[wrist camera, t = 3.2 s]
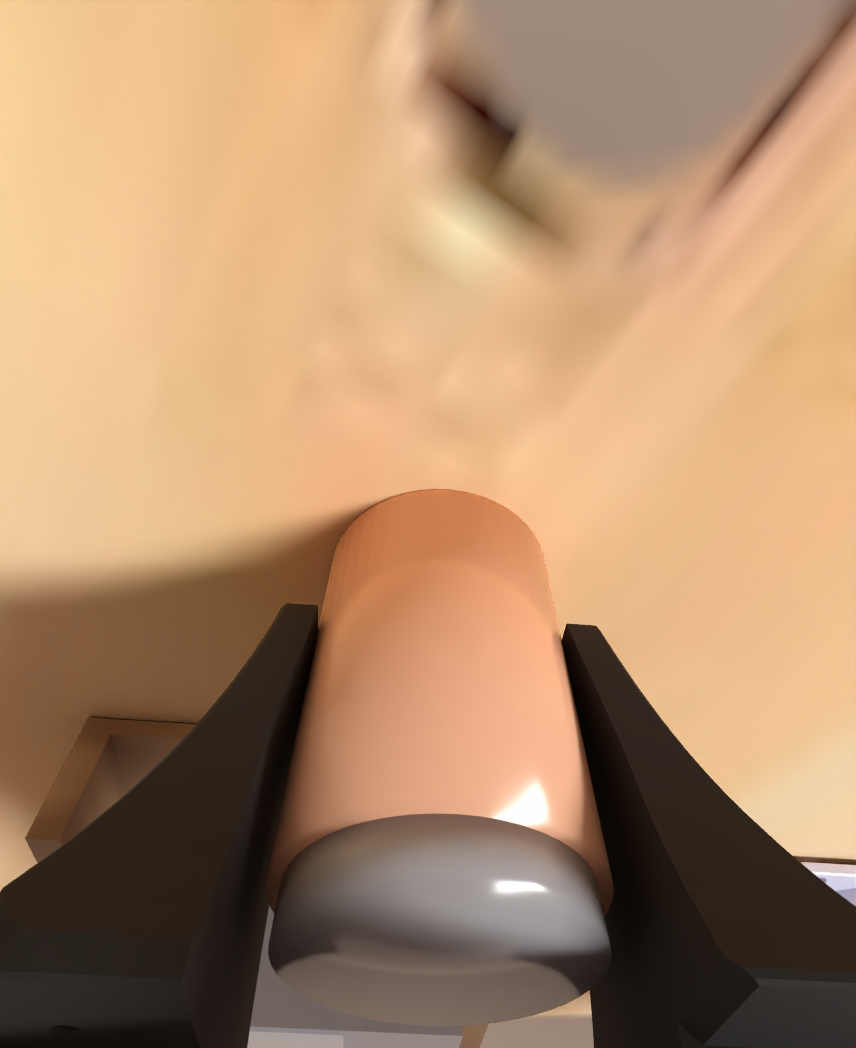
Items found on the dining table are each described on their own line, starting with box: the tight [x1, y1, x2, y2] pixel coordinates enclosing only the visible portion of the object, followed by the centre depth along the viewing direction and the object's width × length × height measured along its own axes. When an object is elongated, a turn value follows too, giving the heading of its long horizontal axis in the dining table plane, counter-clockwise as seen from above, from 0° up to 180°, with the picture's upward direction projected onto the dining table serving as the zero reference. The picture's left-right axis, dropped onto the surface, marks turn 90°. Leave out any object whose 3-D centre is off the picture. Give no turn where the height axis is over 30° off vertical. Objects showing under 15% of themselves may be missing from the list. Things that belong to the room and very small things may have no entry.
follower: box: [247, 905, 463, 1048], centre depth 21 cm, size 10×2×5 cm, turn 85°
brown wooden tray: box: [25, 717, 488, 1048], centre depth 22 cm, size 13×17×4 cm
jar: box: [266, 489, 614, 1026], centre depth 12 cm, size 5×5×8 cm
